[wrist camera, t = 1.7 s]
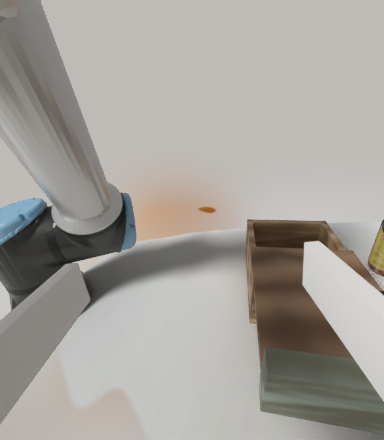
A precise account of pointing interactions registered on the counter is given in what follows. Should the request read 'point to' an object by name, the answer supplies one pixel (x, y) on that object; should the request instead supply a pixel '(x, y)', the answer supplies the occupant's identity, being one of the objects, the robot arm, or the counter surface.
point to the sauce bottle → (378, 253)
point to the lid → (307, 348)
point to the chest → (284, 242)
